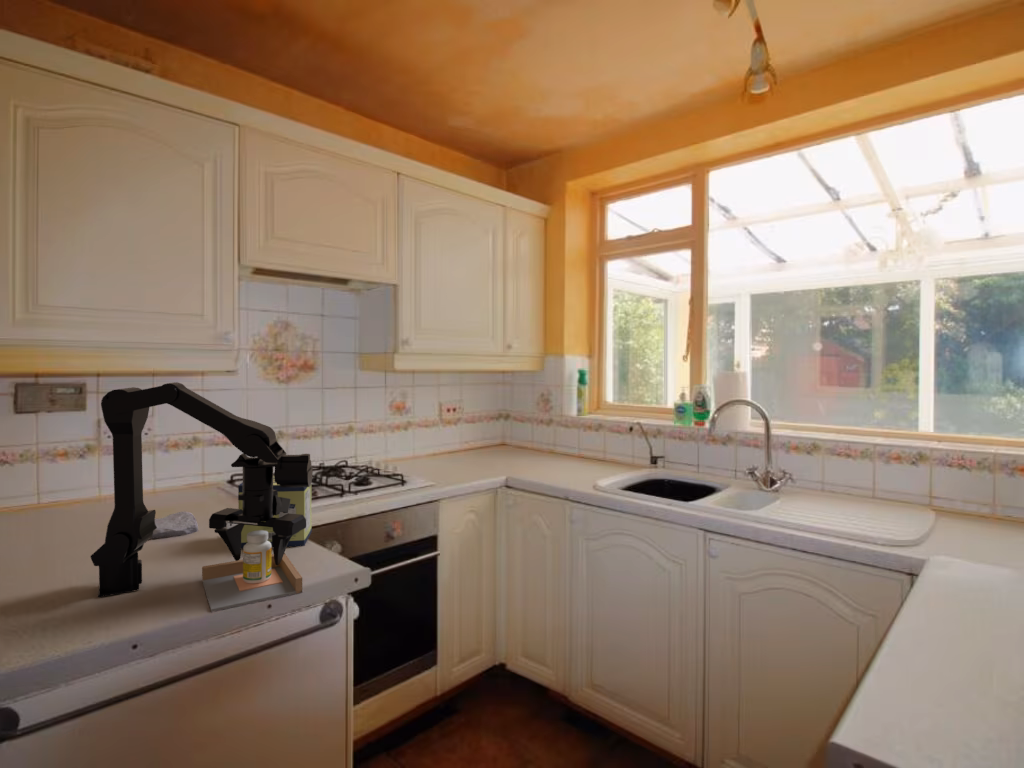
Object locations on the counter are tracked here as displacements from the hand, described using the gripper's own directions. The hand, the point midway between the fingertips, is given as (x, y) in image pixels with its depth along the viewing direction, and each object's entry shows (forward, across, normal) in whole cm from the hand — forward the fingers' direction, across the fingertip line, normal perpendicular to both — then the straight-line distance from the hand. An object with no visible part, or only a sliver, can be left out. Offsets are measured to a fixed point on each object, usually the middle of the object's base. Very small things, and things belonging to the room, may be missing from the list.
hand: (257, 562), depth 114 cm
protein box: (+4, +11, -23) cm, 26 cm away
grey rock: (+5, +40, -22) cm, 46 cm away
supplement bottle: (+4, 0, 0) cm, 4 cm away
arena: (+4, 0, +2) cm, 5 cm away
